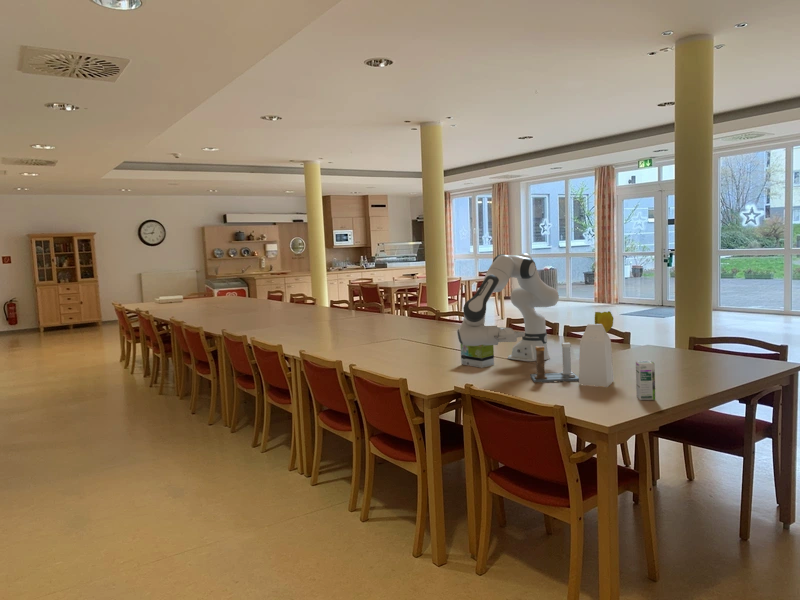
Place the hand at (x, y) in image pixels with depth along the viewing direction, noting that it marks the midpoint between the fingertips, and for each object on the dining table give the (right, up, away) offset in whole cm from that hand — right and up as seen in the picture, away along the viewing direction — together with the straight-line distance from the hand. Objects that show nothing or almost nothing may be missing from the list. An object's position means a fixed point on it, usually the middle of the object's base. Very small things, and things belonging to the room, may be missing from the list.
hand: (524, 334), depth 264 cm
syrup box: (+39, -23, -37) cm, 59 cm away
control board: (+15, -21, +4) cm, 26 cm away
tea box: (-15, -19, +45) cm, 51 cm away
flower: (+38, -20, +4) cm, 43 cm away
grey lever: (+21, -19, +7) cm, 29 cm away
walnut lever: (+8, -20, +1) cm, 21 cm away
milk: (+30, -21, -8) cm, 37 cm away
